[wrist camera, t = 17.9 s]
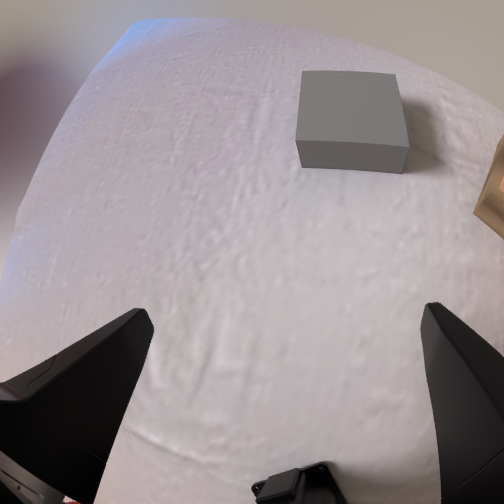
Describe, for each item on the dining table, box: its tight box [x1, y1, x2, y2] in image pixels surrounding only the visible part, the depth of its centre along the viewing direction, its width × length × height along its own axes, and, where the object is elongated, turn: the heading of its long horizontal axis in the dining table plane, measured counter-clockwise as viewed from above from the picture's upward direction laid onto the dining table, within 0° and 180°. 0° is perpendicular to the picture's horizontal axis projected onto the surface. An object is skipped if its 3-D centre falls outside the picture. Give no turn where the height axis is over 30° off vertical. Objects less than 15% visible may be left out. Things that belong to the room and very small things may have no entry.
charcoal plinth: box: [295, 71, 410, 174], centre depth 23 cm, size 9×9×4 cm
